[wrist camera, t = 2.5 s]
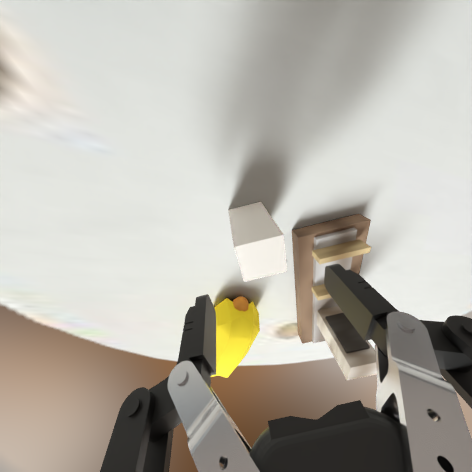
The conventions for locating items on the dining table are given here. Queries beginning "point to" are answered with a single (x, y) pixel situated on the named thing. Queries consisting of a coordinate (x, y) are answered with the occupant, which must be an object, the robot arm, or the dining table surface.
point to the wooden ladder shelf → (317, 297)
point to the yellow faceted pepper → (234, 333)
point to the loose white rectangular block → (257, 242)
